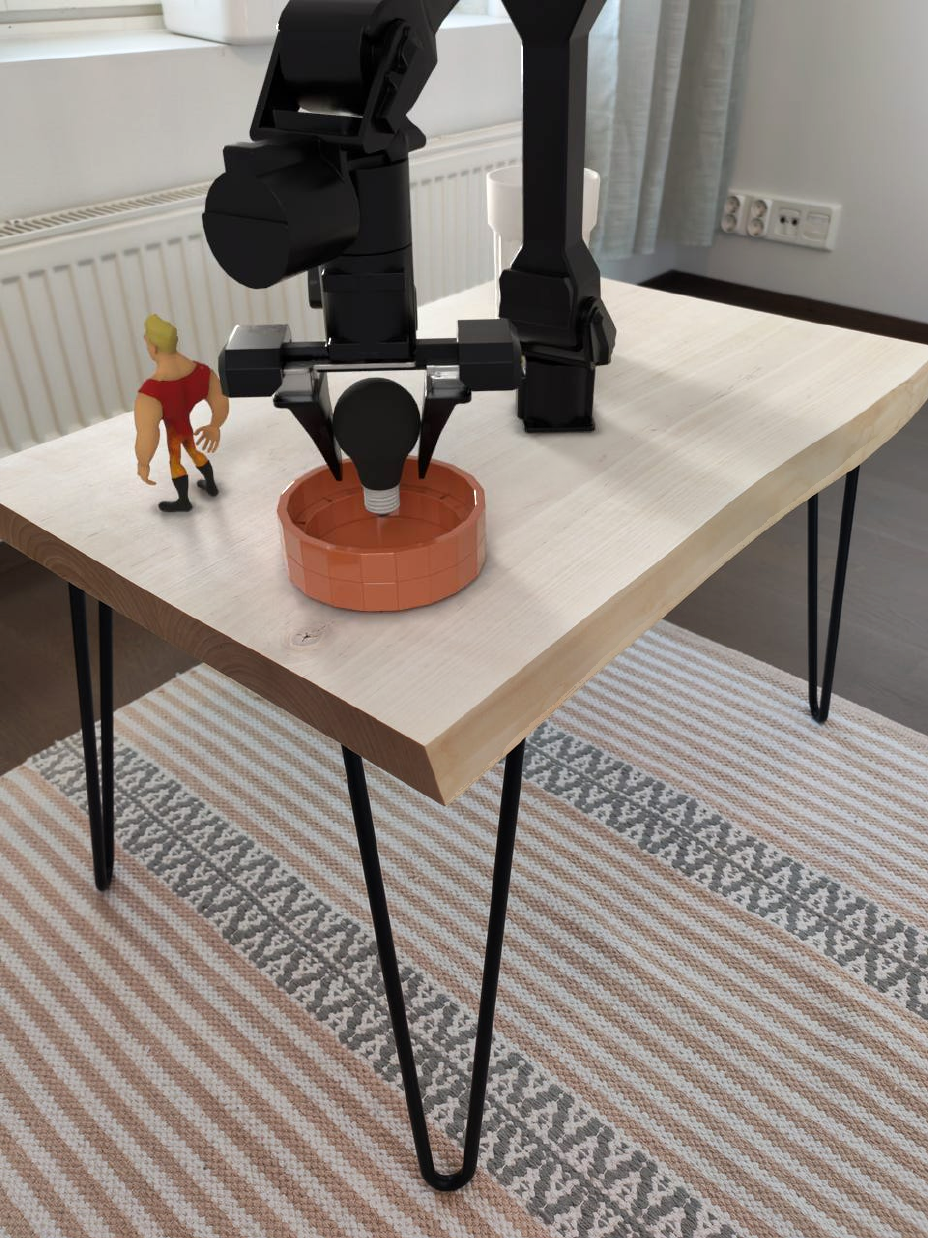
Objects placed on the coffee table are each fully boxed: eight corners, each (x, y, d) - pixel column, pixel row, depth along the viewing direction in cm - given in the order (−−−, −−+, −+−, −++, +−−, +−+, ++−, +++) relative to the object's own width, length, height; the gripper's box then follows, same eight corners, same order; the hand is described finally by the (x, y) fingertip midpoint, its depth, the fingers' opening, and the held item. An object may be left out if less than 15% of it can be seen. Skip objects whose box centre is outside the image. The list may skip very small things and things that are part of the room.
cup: (522, 322, 113) (526, 159, 103) (608, 342, 107) (621, 171, 97) (465, 352, 105) (463, 178, 95) (554, 374, 100) (562, 192, 90)
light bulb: (413, 540, 66) (406, 401, 60) (330, 532, 67) (316, 395, 61) (432, 499, 71) (428, 366, 65) (355, 492, 72) (344, 361, 66)
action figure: (216, 471, 83) (184, 293, 74) (248, 481, 82) (219, 300, 73) (132, 519, 76) (86, 330, 68) (165, 531, 75) (123, 339, 66)
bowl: (480, 509, 77) (480, 451, 74) (490, 614, 65) (490, 550, 63) (297, 514, 77) (290, 456, 74) (274, 620, 65) (264, 556, 62)
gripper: (511, 206, 65) (508, 424, 74) (229, 212, 65) (261, 431, 74) (525, 253, 56) (519, 495, 65) (197, 261, 56) (238, 503, 65)
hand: (381, 477), depth 67 cm, fingers closed on light bulb, 5 cm apart
